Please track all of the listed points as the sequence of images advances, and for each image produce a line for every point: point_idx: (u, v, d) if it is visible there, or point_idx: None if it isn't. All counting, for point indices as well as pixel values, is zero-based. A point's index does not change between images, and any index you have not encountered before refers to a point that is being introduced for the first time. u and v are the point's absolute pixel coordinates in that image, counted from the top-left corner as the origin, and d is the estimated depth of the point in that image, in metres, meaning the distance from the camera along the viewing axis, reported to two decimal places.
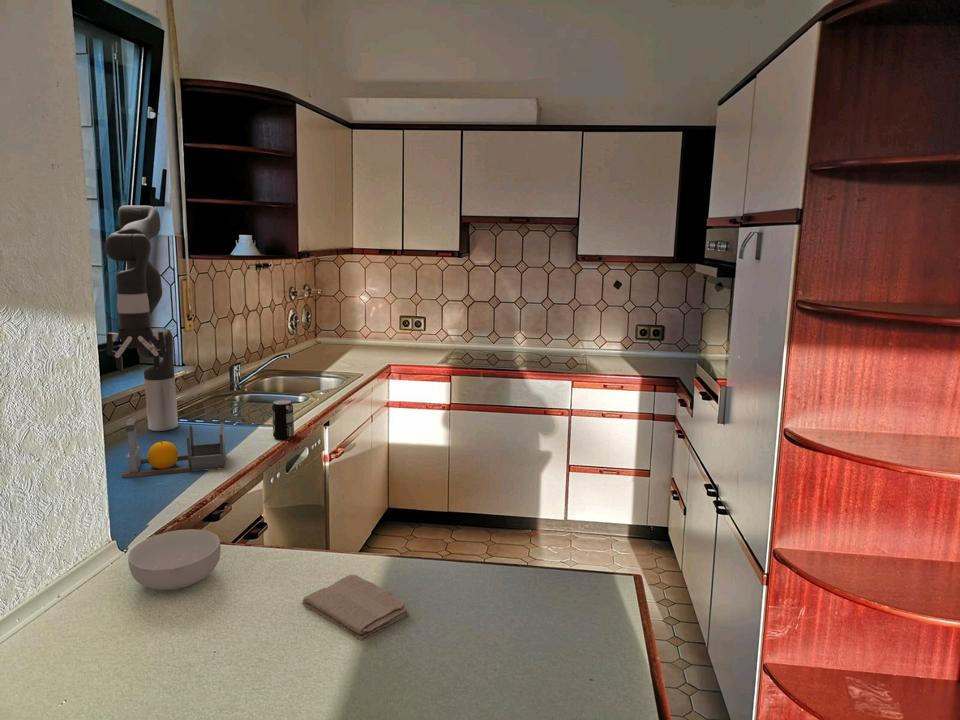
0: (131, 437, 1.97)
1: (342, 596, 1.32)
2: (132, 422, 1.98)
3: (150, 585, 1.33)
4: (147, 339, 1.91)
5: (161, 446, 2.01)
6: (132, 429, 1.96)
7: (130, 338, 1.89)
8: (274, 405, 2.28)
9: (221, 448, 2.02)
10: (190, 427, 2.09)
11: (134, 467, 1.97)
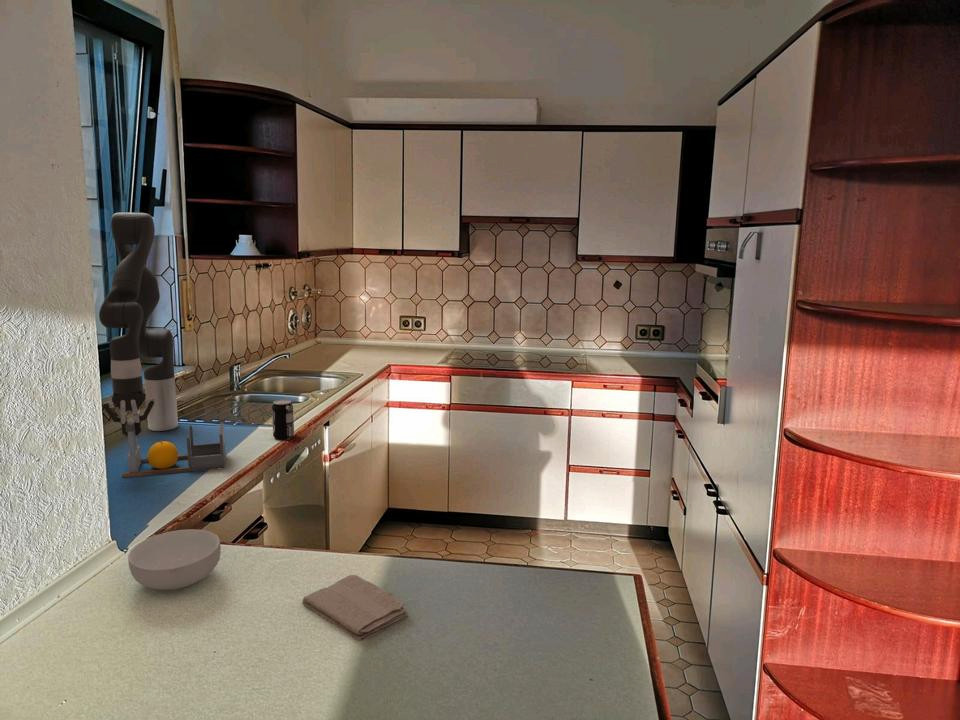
0: (131, 437, 1.97)
1: (341, 596, 1.32)
2: (132, 422, 1.98)
3: (150, 585, 1.33)
4: (138, 405, 1.98)
5: (161, 446, 2.01)
6: (132, 429, 1.96)
7: (123, 401, 1.95)
8: (274, 405, 2.28)
9: (221, 448, 2.02)
10: (190, 427, 2.09)
11: (134, 467, 1.97)
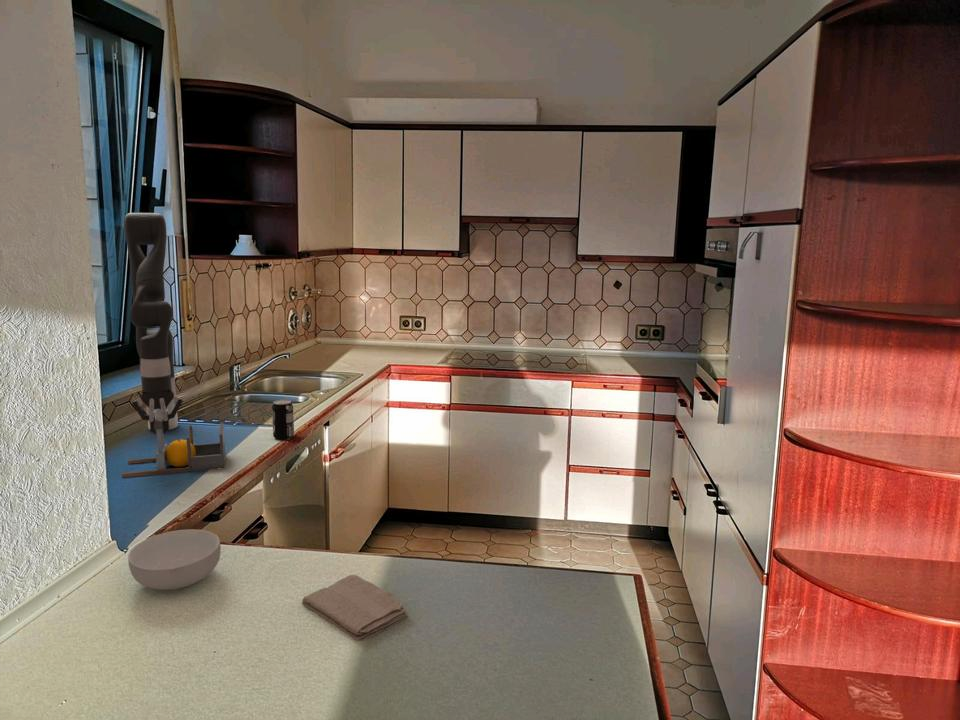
0: (160, 435, 1.99)
1: (341, 596, 1.32)
2: (160, 420, 2.00)
3: (150, 585, 1.33)
4: (166, 403, 2.00)
5: (180, 444, 2.02)
6: (161, 427, 1.98)
7: (152, 400, 1.98)
8: (274, 405, 2.28)
9: (221, 448, 2.02)
10: (190, 427, 2.09)
11: (162, 465, 1.99)
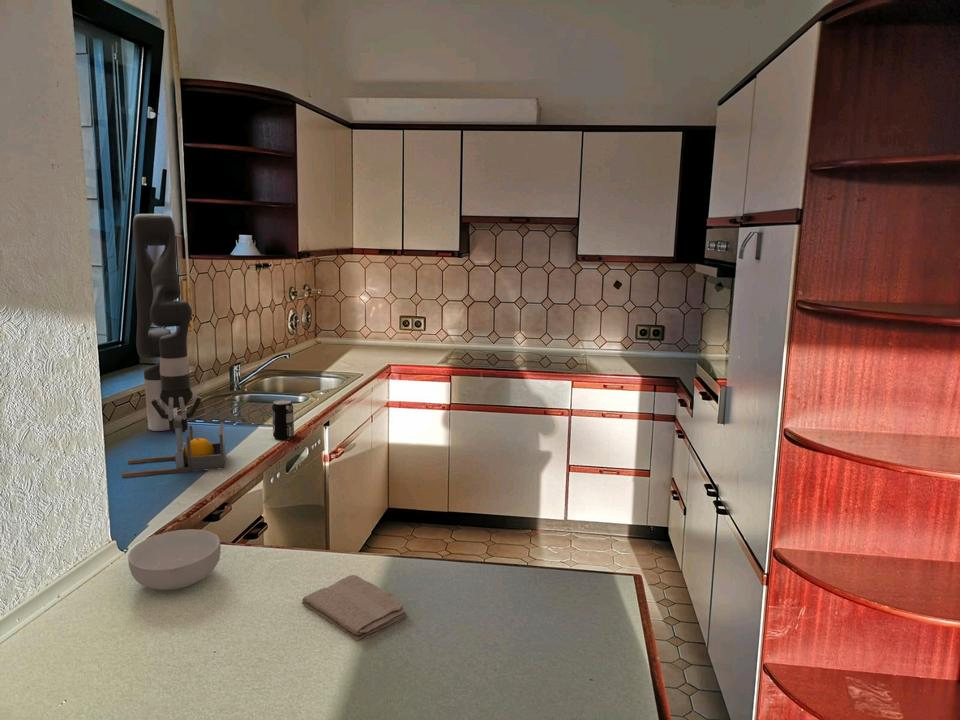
0: (179, 433, 2.01)
1: (341, 596, 1.32)
2: (179, 419, 2.02)
3: (150, 585, 1.33)
4: (185, 402, 2.01)
5: (198, 443, 2.04)
6: (180, 426, 2.00)
7: (171, 398, 1.99)
8: (274, 405, 2.28)
9: (221, 448, 2.02)
10: (190, 427, 2.09)
11: (182, 463, 2.01)
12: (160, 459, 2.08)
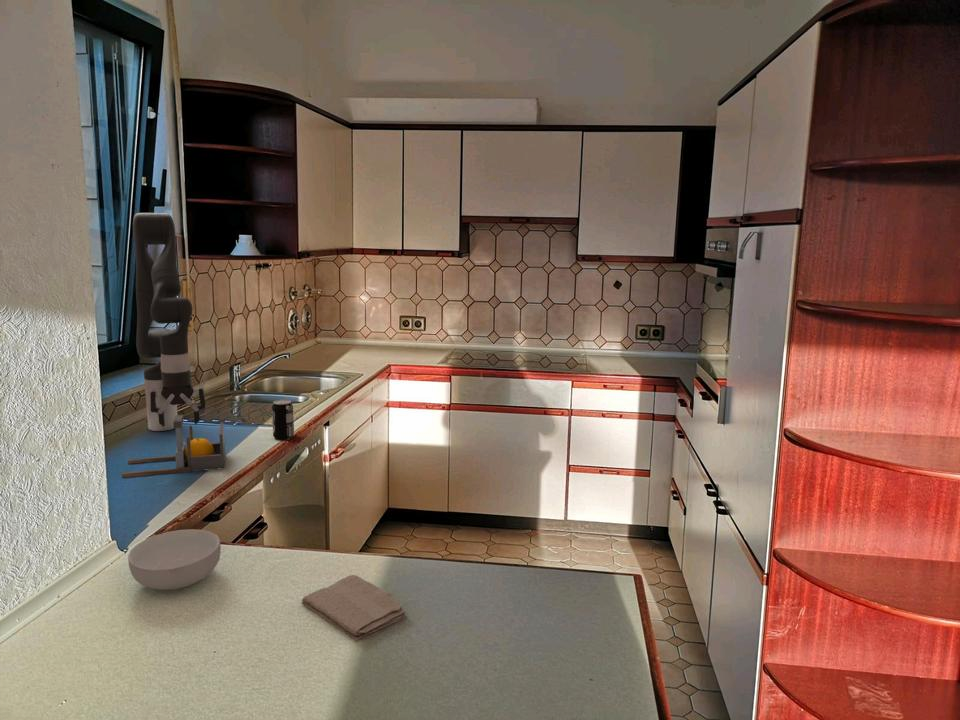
0: (179, 433, 2.01)
1: (341, 596, 1.32)
2: (179, 419, 2.02)
3: (150, 585, 1.33)
4: (188, 396, 2.01)
5: (199, 443, 2.04)
6: (180, 426, 2.00)
7: (172, 395, 1.99)
8: (274, 405, 2.28)
9: (221, 448, 2.02)
10: (190, 427, 2.09)
11: (182, 463, 2.01)
12: (160, 459, 2.08)
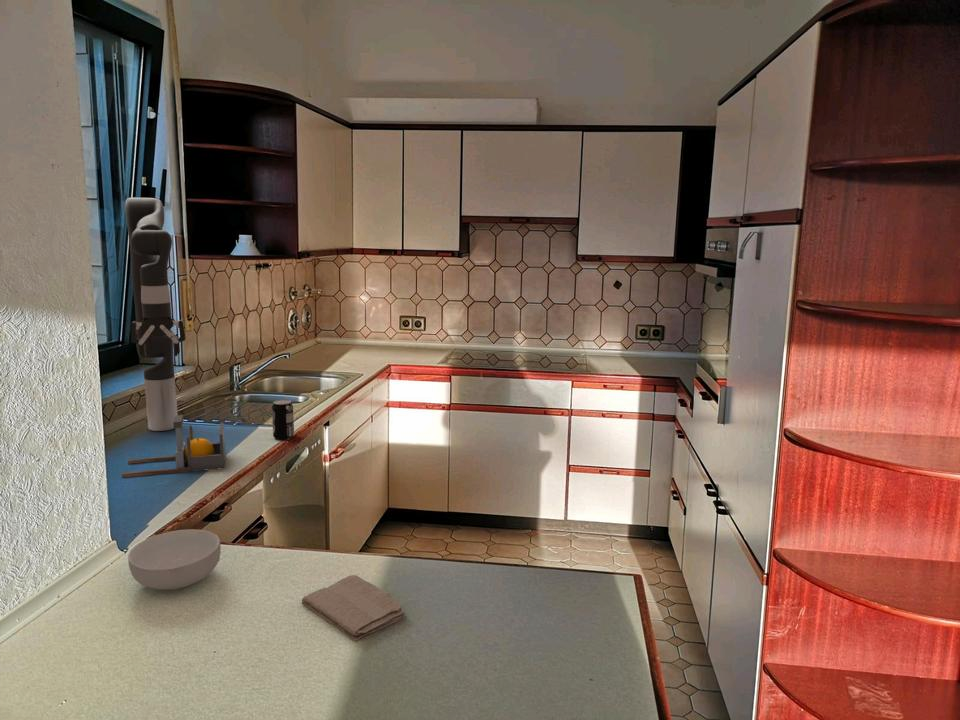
0: (179, 433, 2.01)
1: (340, 596, 1.32)
2: (179, 419, 2.02)
3: (150, 585, 1.33)
4: (168, 328, 2.06)
5: (199, 443, 2.04)
6: (180, 426, 2.00)
7: (153, 327, 2.04)
8: (274, 405, 2.28)
9: (221, 448, 2.02)
10: (190, 427, 2.09)
11: (182, 463, 2.01)
12: (160, 459, 2.08)
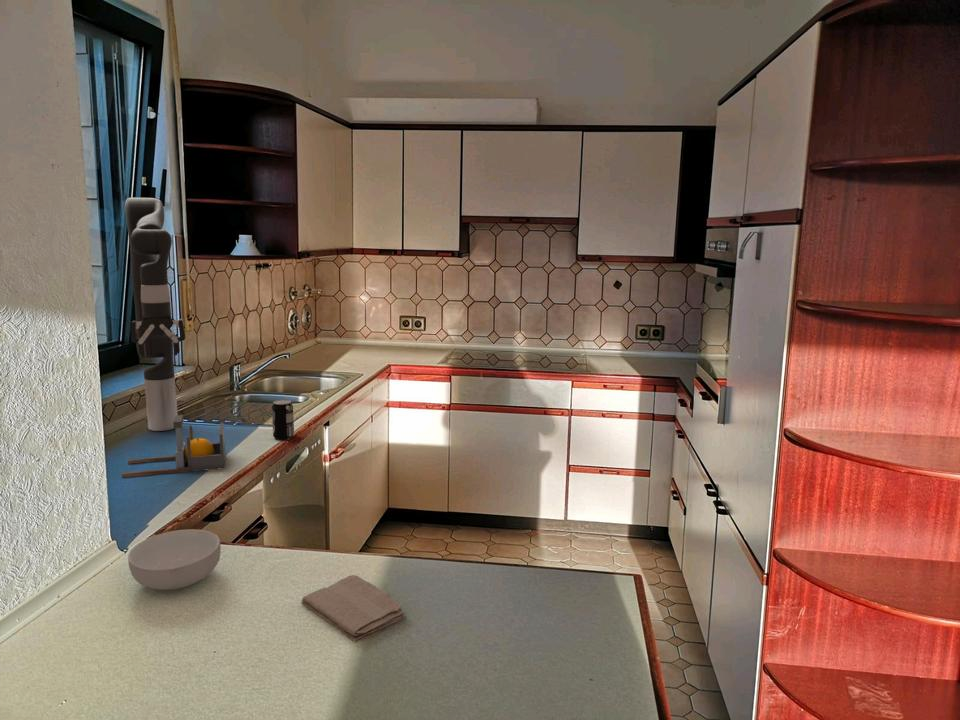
0: (179, 433, 2.01)
1: (340, 596, 1.32)
2: (179, 419, 2.02)
3: (150, 585, 1.33)
4: (168, 327, 2.06)
5: (199, 443, 2.04)
6: (180, 426, 2.00)
7: (152, 326, 2.04)
8: (274, 405, 2.28)
9: (221, 448, 2.02)
10: (190, 427, 2.09)
11: (182, 463, 2.01)
12: (160, 459, 2.08)
